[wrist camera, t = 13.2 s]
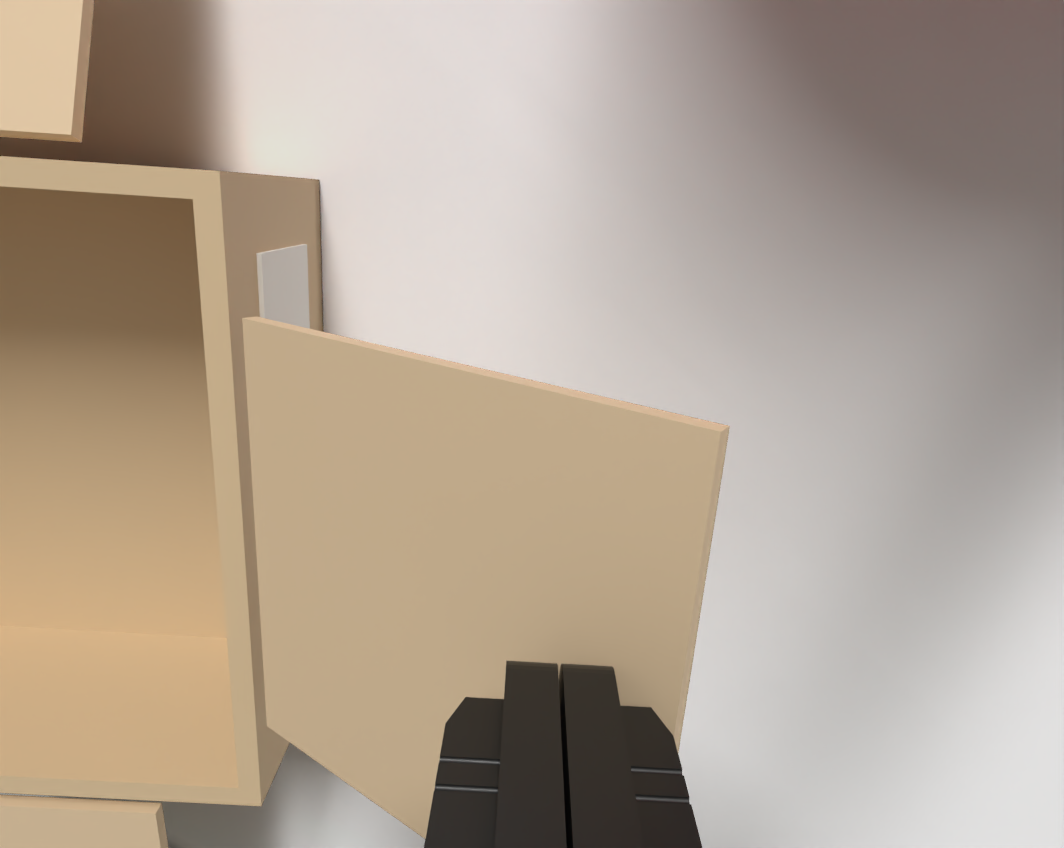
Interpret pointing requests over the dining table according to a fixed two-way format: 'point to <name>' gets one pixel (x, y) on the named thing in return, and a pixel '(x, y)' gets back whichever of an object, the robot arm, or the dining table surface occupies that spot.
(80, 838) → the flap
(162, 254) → the carton
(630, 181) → the dining table surface
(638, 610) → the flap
